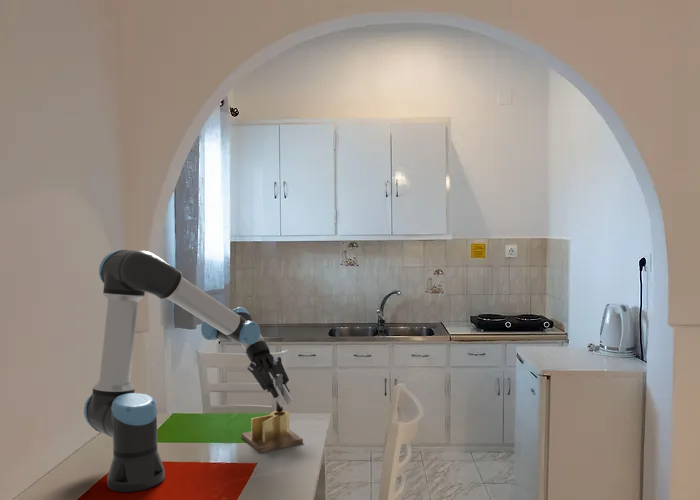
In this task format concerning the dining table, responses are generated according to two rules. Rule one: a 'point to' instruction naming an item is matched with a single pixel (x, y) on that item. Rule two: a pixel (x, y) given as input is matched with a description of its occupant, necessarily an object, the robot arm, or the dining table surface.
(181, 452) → the dining table surface
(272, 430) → the brass hinge
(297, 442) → the walnut board
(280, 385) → the hinge pin
